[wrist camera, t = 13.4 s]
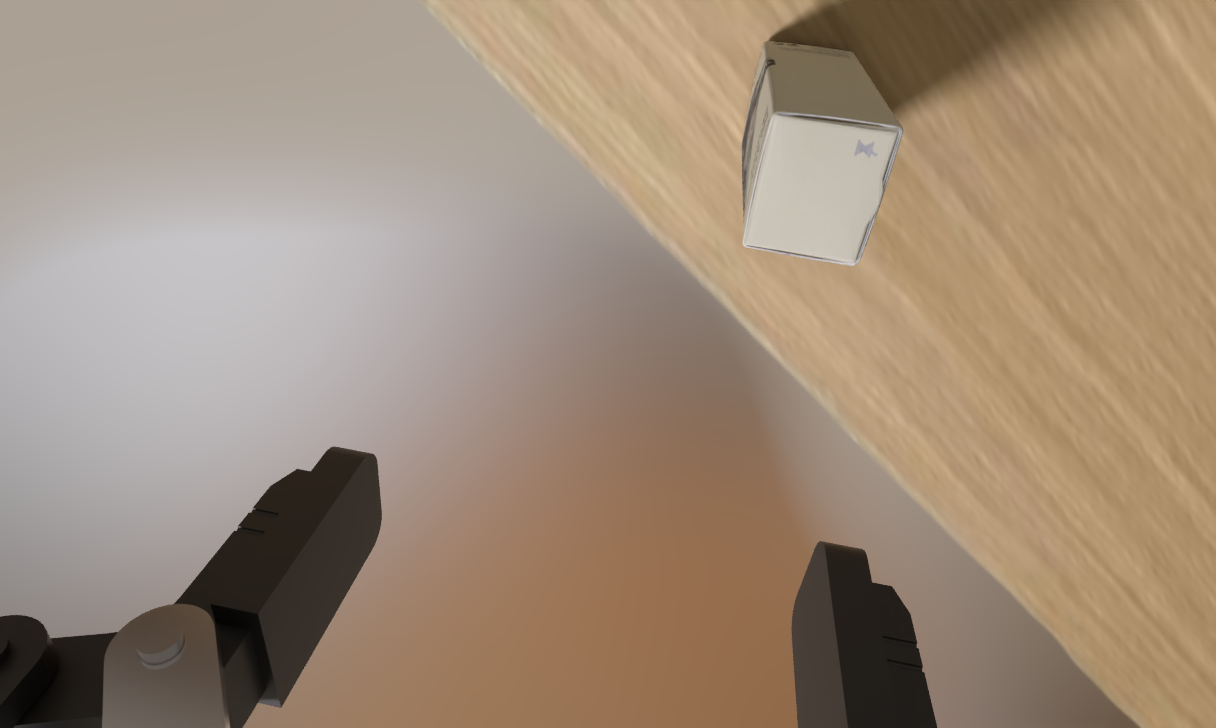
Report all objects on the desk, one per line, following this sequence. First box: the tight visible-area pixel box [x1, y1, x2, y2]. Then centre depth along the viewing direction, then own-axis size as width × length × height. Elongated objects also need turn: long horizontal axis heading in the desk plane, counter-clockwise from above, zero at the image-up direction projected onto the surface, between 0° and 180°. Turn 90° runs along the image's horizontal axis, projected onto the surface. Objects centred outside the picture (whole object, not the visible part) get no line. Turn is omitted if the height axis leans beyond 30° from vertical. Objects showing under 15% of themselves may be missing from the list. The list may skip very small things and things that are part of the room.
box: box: [742, 41, 903, 266], centre depth 30 cm, size 5×4×13 cm
